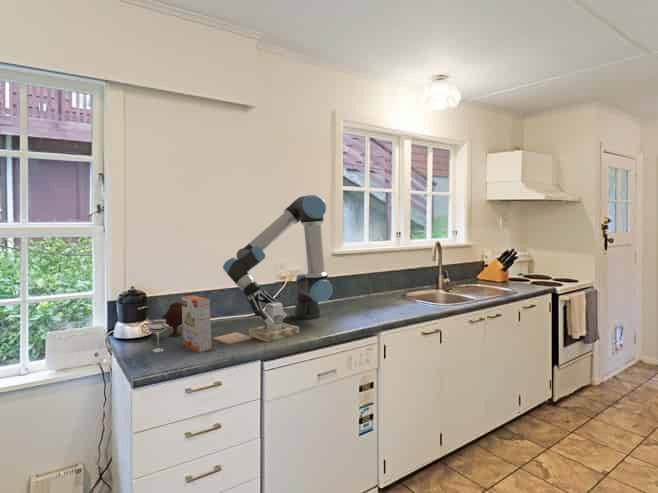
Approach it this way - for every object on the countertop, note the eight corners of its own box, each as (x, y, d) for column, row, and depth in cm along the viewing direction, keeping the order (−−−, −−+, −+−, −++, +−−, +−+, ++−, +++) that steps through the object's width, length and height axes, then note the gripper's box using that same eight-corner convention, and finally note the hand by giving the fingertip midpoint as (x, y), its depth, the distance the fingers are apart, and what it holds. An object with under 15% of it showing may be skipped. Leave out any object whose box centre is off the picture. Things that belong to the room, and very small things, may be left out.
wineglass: (169, 347, 171) (168, 318, 171) (163, 352, 165) (162, 322, 164) (153, 347, 171) (152, 319, 170) (146, 353, 164) (145, 323, 164)
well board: (279, 328, 201) (279, 322, 201) (299, 333, 191) (299, 326, 191) (248, 335, 188) (248, 329, 188) (268, 341, 178) (267, 334, 178)
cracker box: (182, 346, 173) (180, 296, 172) (195, 343, 177) (194, 294, 176) (198, 353, 163) (196, 300, 162) (212, 350, 167) (210, 298, 166)
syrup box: (274, 332, 193) (273, 301, 193) (283, 334, 190) (282, 303, 189) (265, 334, 189) (264, 303, 188) (274, 337, 185) (273, 305, 184)
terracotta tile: (236, 334, 191) (236, 332, 191) (251, 338, 183) (251, 337, 183) (213, 339, 182) (213, 337, 182) (228, 344, 174) (228, 343, 174)
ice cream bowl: (162, 333, 193) (161, 301, 192) (187, 331, 197) (186, 300, 196) (162, 339, 183) (160, 306, 182) (188, 337, 187) (187, 304, 186)
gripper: (257, 287, 205) (285, 319, 201) (228, 296, 182) (260, 332, 178) (266, 277, 203) (295, 309, 199) (239, 284, 180) (270, 321, 175)
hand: (278, 320), depth 188 cm, fingers open, 13 cm apart
